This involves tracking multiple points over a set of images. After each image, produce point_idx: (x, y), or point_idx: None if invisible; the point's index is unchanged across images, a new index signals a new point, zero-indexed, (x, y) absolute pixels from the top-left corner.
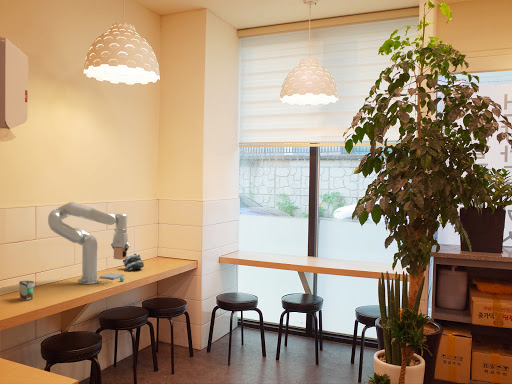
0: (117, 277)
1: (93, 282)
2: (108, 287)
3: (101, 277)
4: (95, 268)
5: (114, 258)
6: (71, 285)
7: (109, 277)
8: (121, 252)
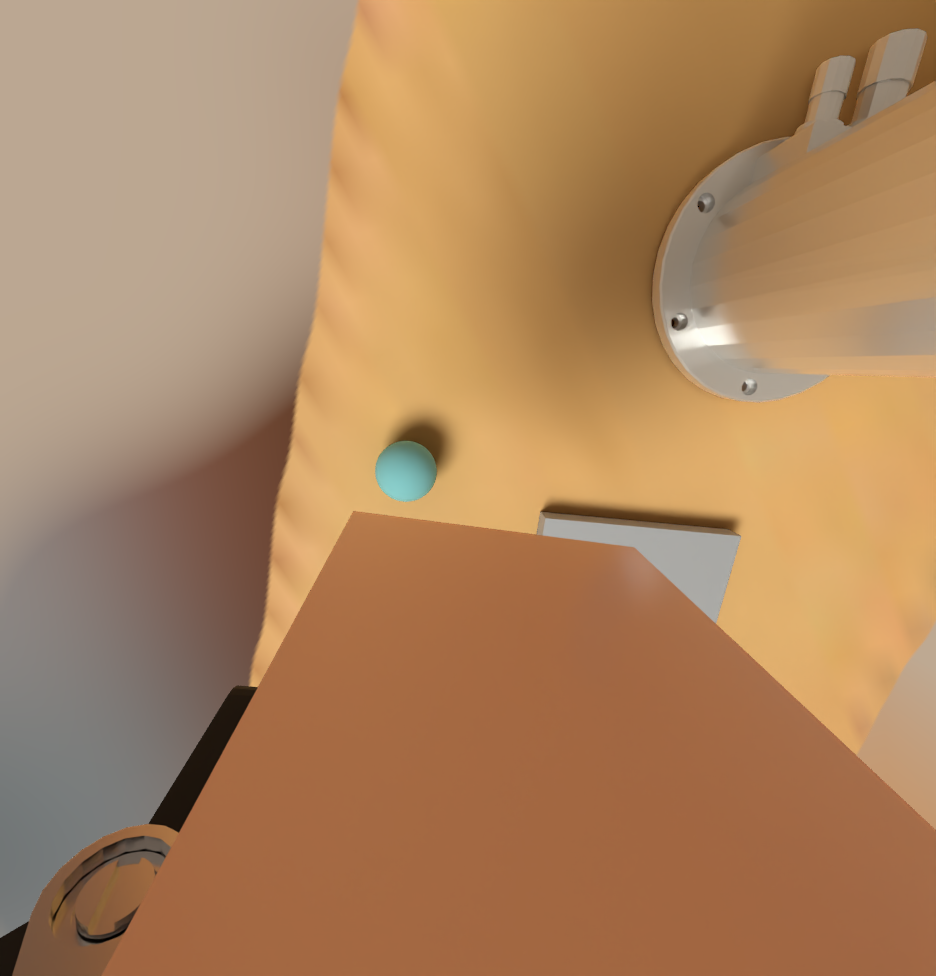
0: None
1: (690, 198)
2: (392, 61)
3: (711, 529)
4: (847, 207)
5: (605, 546)
6: (926, 32)
7: (609, 523)
8: (271, 666)
